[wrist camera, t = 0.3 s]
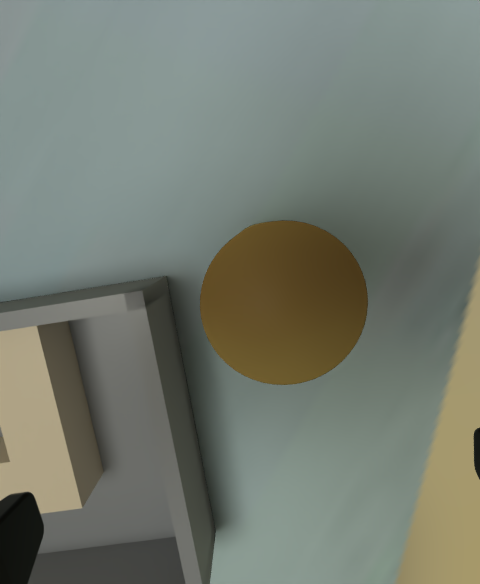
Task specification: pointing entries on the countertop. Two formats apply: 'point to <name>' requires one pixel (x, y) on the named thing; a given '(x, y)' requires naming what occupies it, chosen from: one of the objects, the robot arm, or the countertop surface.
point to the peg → (283, 302)
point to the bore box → (104, 436)
